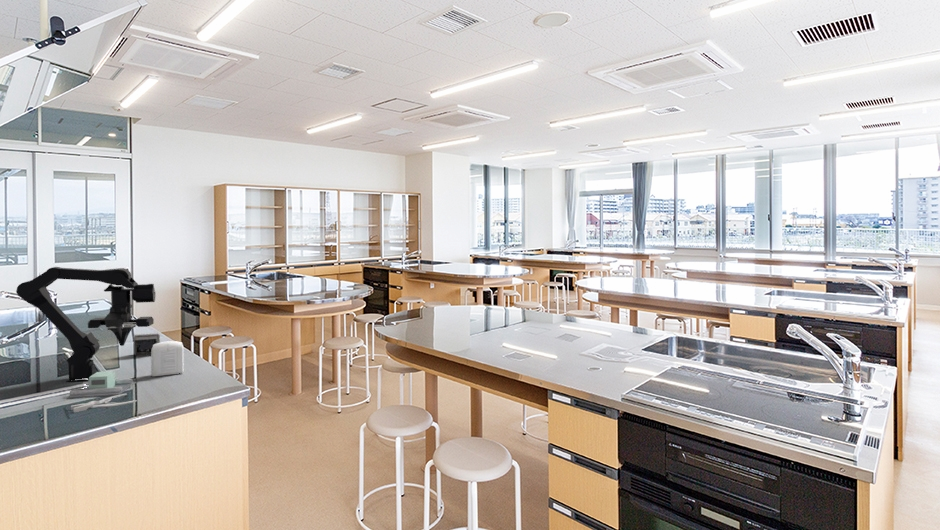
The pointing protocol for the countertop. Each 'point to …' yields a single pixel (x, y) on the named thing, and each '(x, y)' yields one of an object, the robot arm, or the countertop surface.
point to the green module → (102, 380)
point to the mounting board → (102, 389)
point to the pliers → (95, 403)
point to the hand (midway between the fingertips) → (122, 345)
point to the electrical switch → (145, 343)
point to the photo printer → (167, 358)
